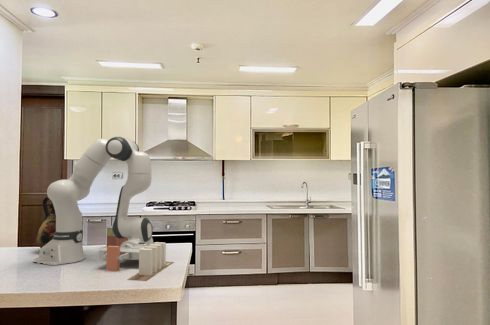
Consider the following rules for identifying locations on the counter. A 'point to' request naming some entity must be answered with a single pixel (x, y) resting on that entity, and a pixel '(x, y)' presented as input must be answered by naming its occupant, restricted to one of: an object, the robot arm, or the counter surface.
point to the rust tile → (113, 258)
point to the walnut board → (147, 277)
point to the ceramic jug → (47, 225)
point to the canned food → (113, 238)
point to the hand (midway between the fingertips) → (111, 257)
